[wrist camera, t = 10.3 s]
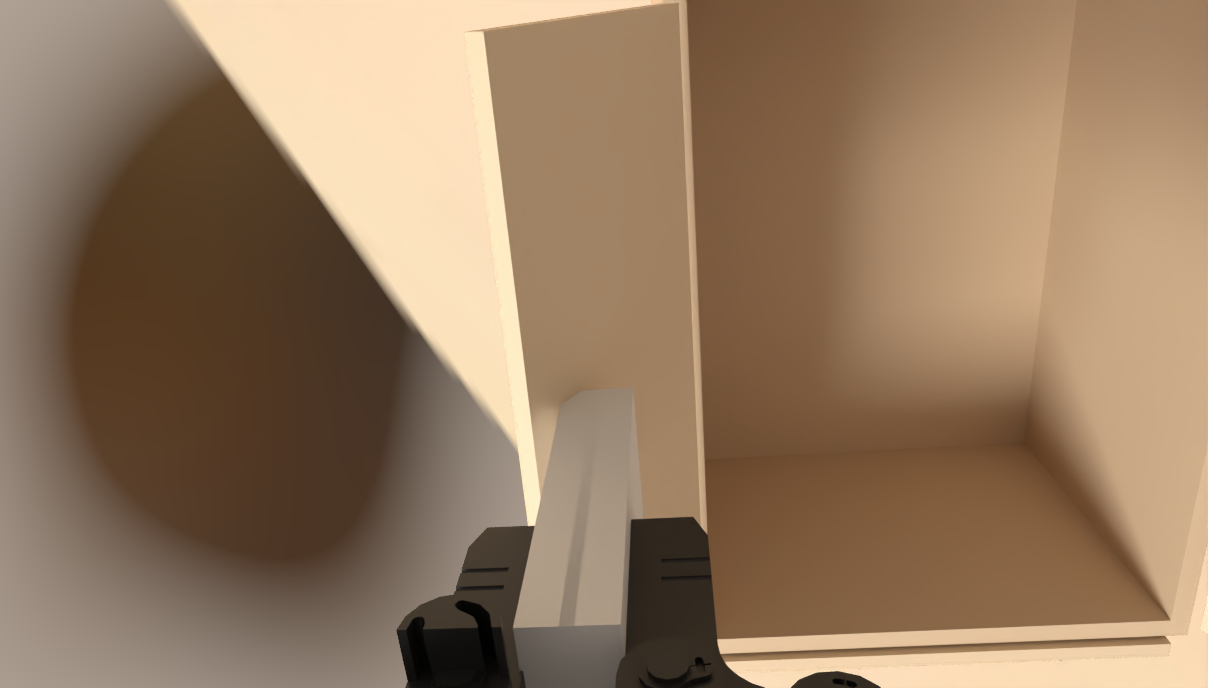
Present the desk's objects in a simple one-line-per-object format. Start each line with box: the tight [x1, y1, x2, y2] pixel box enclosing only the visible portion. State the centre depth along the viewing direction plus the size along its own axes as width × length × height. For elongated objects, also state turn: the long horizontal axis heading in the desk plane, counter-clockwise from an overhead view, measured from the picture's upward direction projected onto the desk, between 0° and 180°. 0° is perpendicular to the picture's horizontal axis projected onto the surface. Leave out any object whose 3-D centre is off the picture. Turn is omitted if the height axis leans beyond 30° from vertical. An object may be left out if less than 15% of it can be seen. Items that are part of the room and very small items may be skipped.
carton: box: [652, 0, 1208, 673], centre depth 25 cm, size 18×13×10 cm
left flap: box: [464, 3, 701, 526], centre depth 18 cm, size 16×6×1 cm
